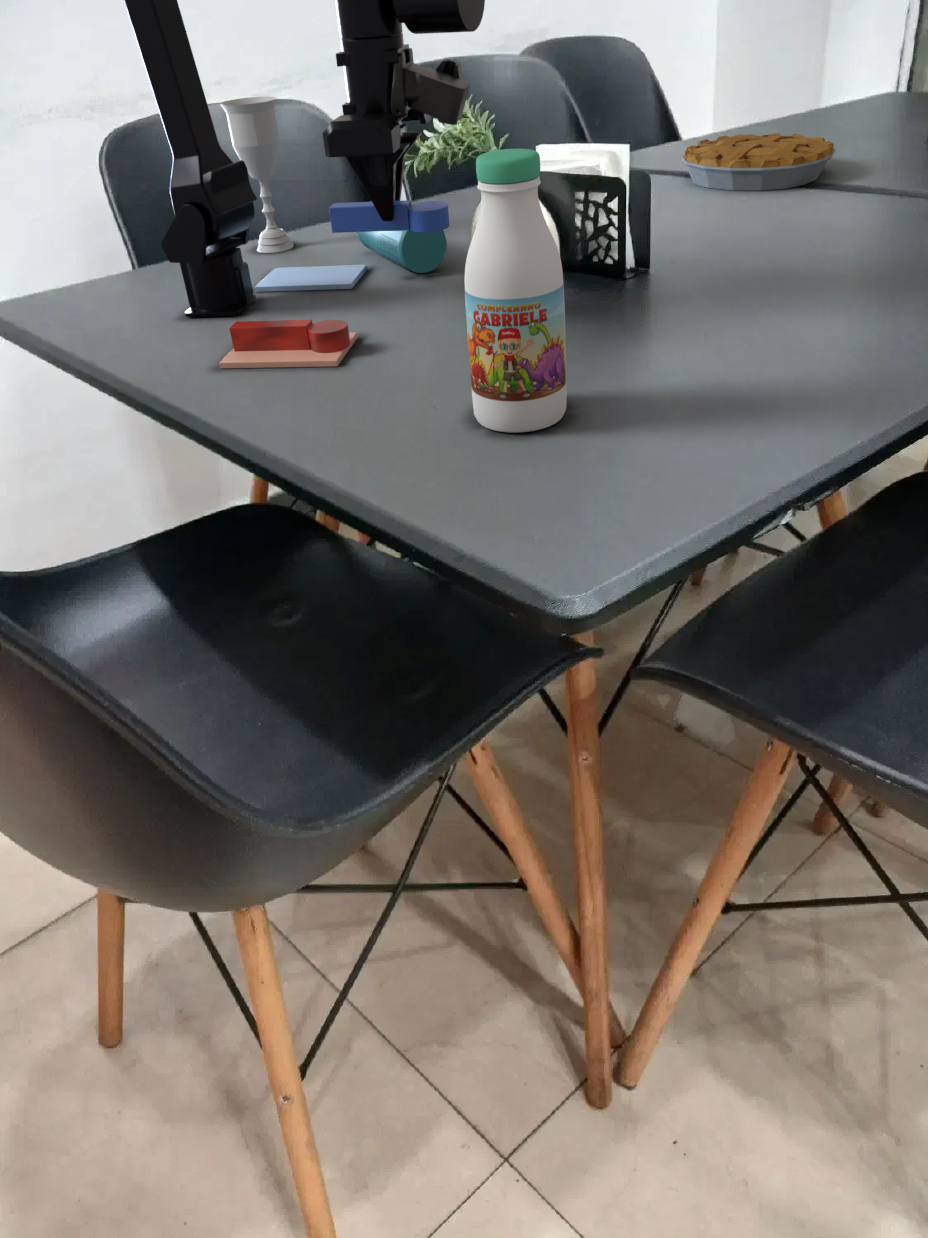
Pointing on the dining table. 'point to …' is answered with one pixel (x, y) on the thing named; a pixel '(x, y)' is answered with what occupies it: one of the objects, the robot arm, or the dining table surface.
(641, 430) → the dining table surface
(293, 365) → the pink flat board
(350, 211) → the blue bar with disc
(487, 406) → the milk bottle
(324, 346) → the red bar with disc
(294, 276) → the mat blue
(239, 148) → the chalice
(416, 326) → the dining table surface
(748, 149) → the pie
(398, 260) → the beverage bottle
